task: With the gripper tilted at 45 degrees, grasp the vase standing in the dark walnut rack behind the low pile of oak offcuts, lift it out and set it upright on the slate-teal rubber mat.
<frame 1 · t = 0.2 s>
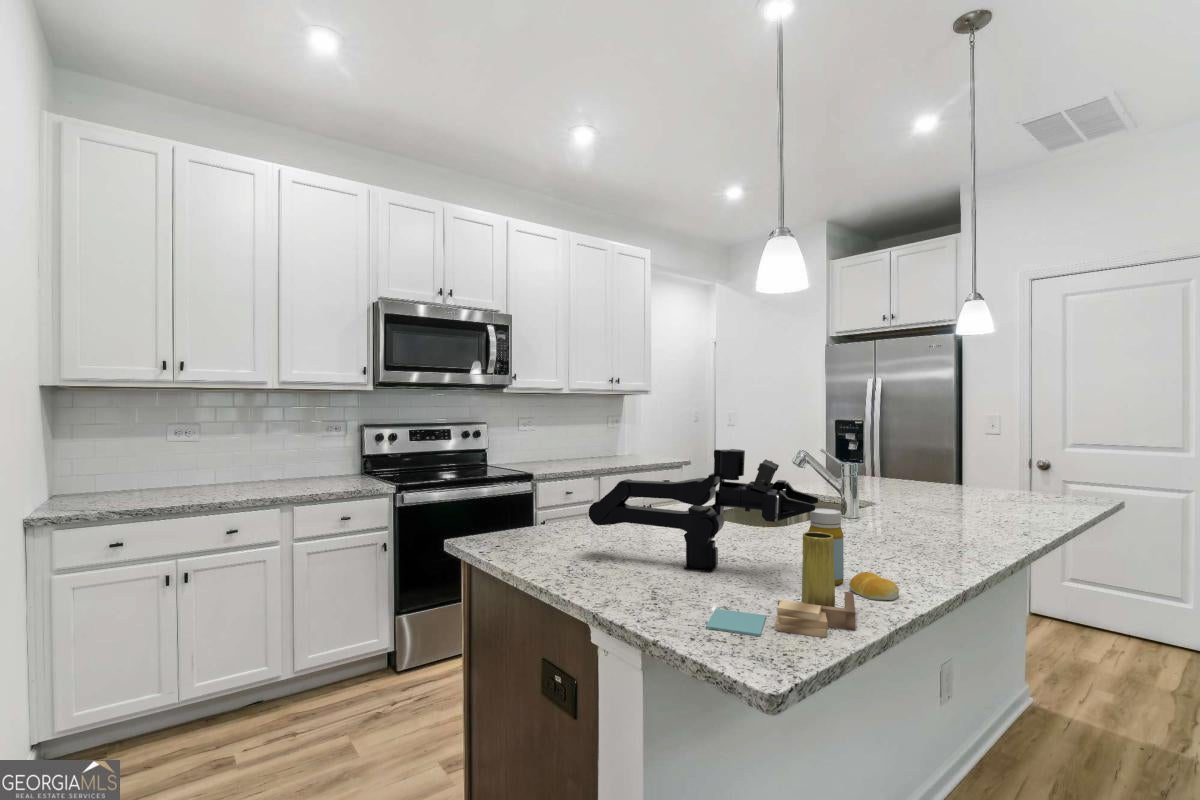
hand: (816, 503, 124), 17 cm above the countertop, tool horizontal, fingers open, 9 cm apart
bottle: (825, 582, 124), on the countertop
bread roll: (873, 595, 116), on the countertop
vase: (818, 614, 105), on the countertop
offcut rack: (818, 613, 105), on the countertop
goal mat: (736, 622, 101), on the countertop
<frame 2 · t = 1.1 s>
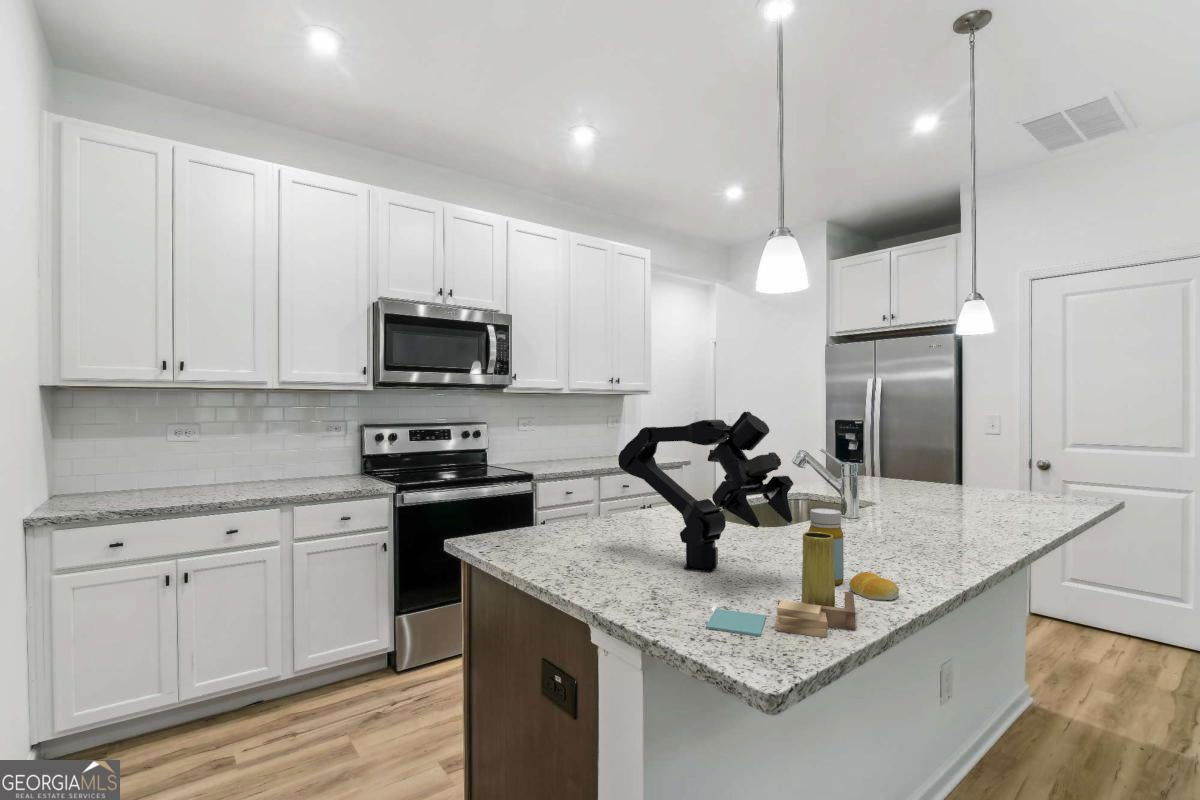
hand: (774, 523, 117), 14 cm above the countertop, tool tilted 45°, fingers open, 9 cm apart
nothing on the countertop moved.
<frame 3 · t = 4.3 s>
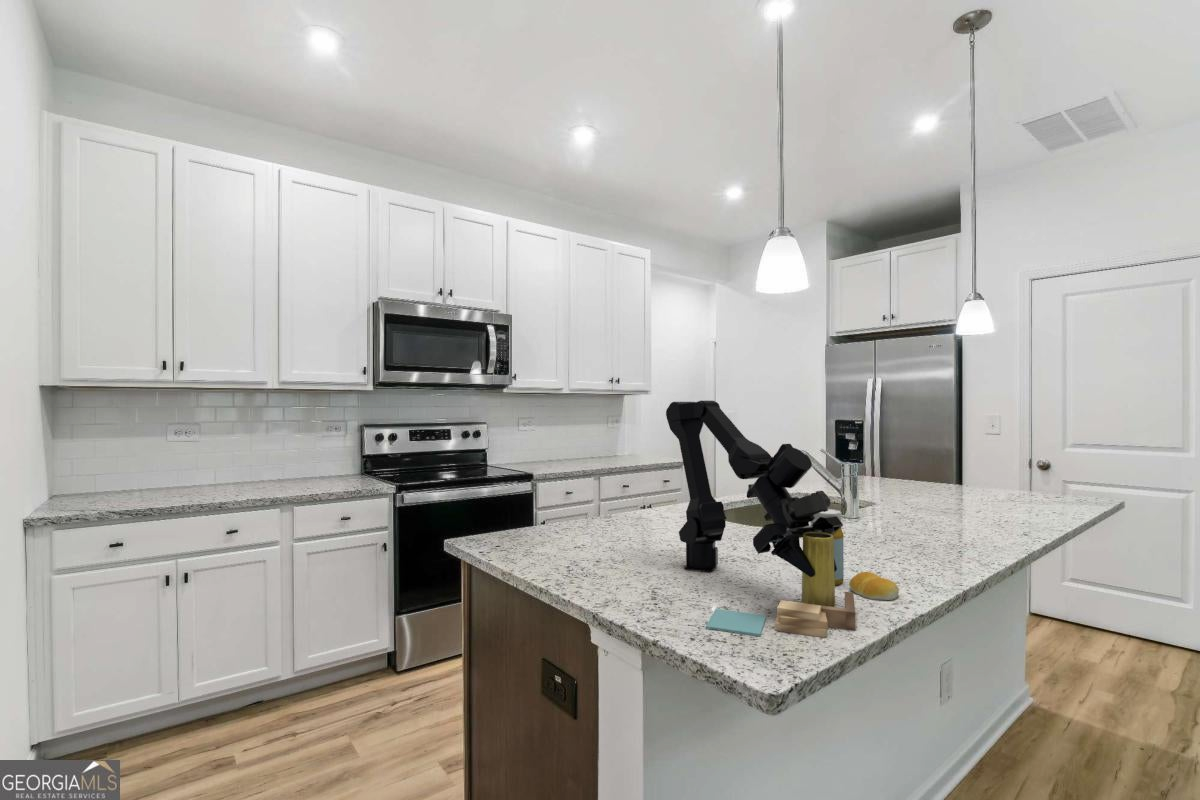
hand: (824, 573, 104), 8 cm above the countertop, tool tilted 45°, fingers closed on vase, 5 cm apart
vase: (818, 614, 105), on the countertop, touching gripper
everything else where it was.
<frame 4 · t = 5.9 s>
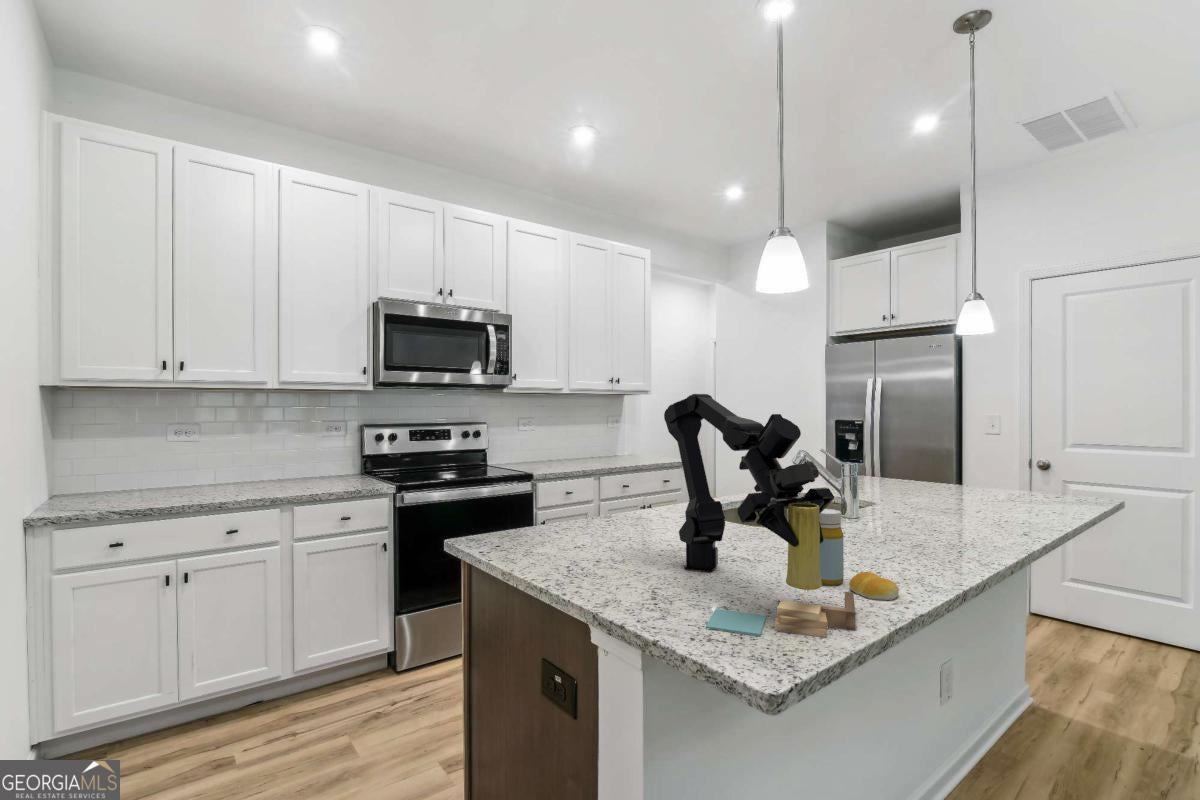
hand: (809, 544, 102), 13 cm above the countertop, tool tilted 45°, fingers closed on vase, 5 cm apart
vase: (803, 585, 104), point 5 cm above the countertop, touching gripper
everything else where it was.
when the fingers open (9 cm above the countertop, at t = 7.9 s): vase drops 1 cm, resting on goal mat.
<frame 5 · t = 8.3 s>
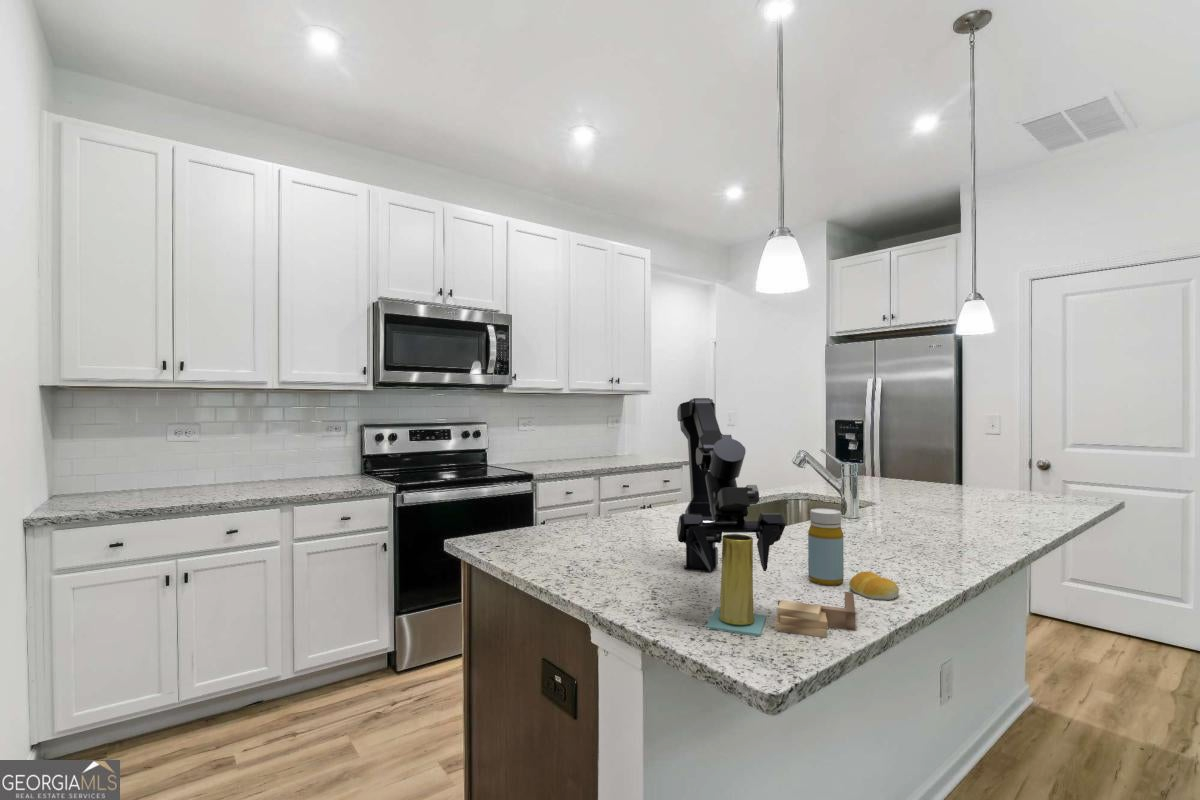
hand: (738, 570, 99), 10 cm above the countertop, tool tilted 45°, fingers open, 9 cm apart
vase: (736, 620, 101), resting on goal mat
everything else where it was.
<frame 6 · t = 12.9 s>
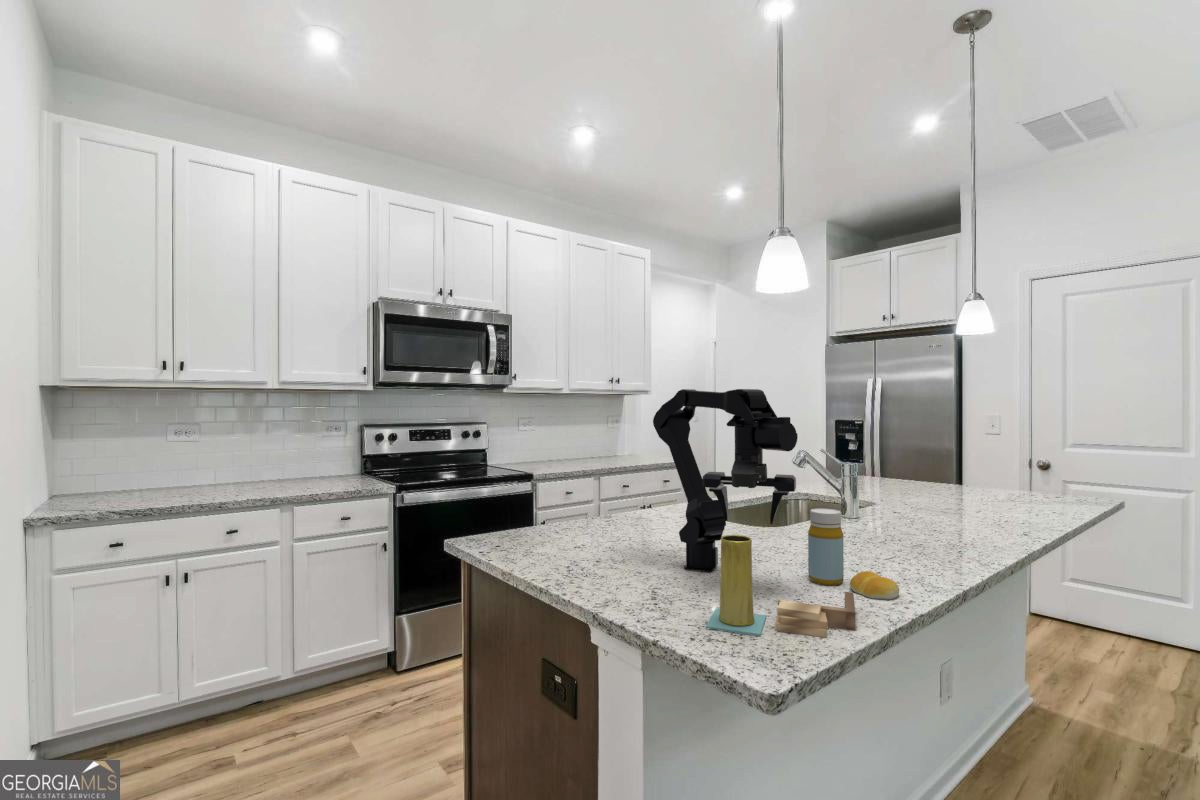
hand: (748, 522, 122), 13 cm above the countertop, tool pointing down, fingers open, 9 cm apart
nothing on the countertop moved.
at the end: vase 0.2 cm off-centre on the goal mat, point 0.2 cm above the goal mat's base; vase tilted 0°; the gripper is holding nothing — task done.
